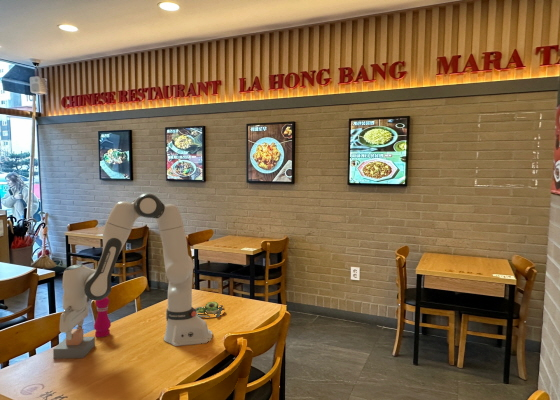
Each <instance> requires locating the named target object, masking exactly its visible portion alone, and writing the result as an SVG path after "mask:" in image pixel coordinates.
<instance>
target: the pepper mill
mask: <svg viewBox="0 0 560 400" xmlns="http://www.w3.org/2000/svg"><path fill="white" fill-rule="evenodd" d="M109 304H110V299H109V297H108V296H107V297H106V298H104V299H102V300H95V306H96V311H97V315H96V319H95V321H94V325H93V329H94V330H95V334H94V337H95V338H105V337H107V336H110V333H111V332H110V331H111V330H110V328H111V326H112V325H111V320H110V318H109V316H108V310H109Z"/></svg>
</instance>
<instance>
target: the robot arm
mask: <svg viewBox="0 0 560 400" xmlns="http://www.w3.org/2000/svg"><path fill="white" fill-rule="evenodd" d="M138 218H147V219H155V220H156V223H157V224H158V230H159V235H160V239H161V244H162V251H163V253H162V254H163V263H164V268H165V269H164V270H165V276H166V279H167V280H168V286H167V287H168V288H167V308H166V312H165V313H166V315H165V317H166V328H165V333H164V337H163V340H164V341H165V342H166V343H168V344H171V345H173V346H174V347H179V346H190V345H191V346H192V345H198V344H199V345H200V344H201V343H202V344H208V343H209V342H210V341H211V340H212V339H211V338H213V336H212V335H213V331H212V330H211V329H209V328H208V324H207V322H206V320H204V318H201V317H199V316H197V315H196V308H197V307H193V305H192V303H193V301H192V300H193V296H192V295H193V293H192V292H193V278H194V276H193V275H194V262H193V261H194V260H193V258H192V257H191V256H190V255H189V250H188V240H187V236H186V231H185V226H184V221H183V219H182V215H181V213H180V210H179V208H178V206H177V205H175V204H173V203H163V202H162V201H161V199H160V198H158V197H157V195H155V194H154V193H149V192H147V193H142V194H140V195H139V196H137V197H136V199H135V200H133V201H132V202H129V201H123V200H122V201H118V202H116V203H115V205H114V206H113V208H112V209H111V211H110V213H109V215H108V217H107V220H106V222H105V224H104V227H103V232H102V236H101V237H102V253H101V257H100V259H99V262H98V264H97V268H96V269H95V268H94V269H93V268H90V267H88V266H86V265H84V264H80V263H79V264H77V263H76V264H74V265H70V266H67V267H66V268H65V269H64V271H63V275H62V289H63V295H62V309H63V312H62V313H61V314H60V316H59V318H60V319H59V332H60V333H61V334H63V333H65V336H66V335H67V340H71V339H72V338H73V334H72V333H71V332H72V329H75V328H76V329H83V326H84V321H85V318H87V317H88V316H89V313H90V301H91V300H92V301H96V300H102V299H104V298H106V297H107V298H108V296H109V295H110V294H111V292H112V276H113V272H114V269H115V266H116V263H117V260H118V257H119V255H120V253H121V251H122V250H123V248H124V246H125V244H126V242H127V240H128V238H129V236H130V234H131V232H132V229H133V227H134V224H135V222H136V221H137V220H138ZM209 340H210V341H209ZM208 341H209V342H208ZM207 342H208V343H207ZM202 344H201V345H202Z"/></svg>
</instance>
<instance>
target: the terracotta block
mask: <svg viewBox="0 0 560 400" xmlns="http://www.w3.org/2000/svg"><path fill="white" fill-rule="evenodd" d="M71 333H72V334H73V338H72V339H71V340H67V335H66V334H65V338H66V345H79V344H80V343H81V342H82V341H83V337H84V328H82V329H77V328H73V329H72V332H71Z"/></svg>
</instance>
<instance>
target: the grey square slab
mask: <svg viewBox="0 0 560 400" xmlns="http://www.w3.org/2000/svg"><path fill="white" fill-rule="evenodd" d="M95 346H96V336H83V341H82V342H81V343H80V344H79V345H66V337H65V338H63V340H62V341H60V342H59V343H58V344H57V345H56V346H55V347H54V348H53V351H52V352H53V353H52V354H53V359H83V358H85V357H86V356H87V355H88V354H89V353H90V351H91V350H92V349H93V348H94V347H95Z"/></svg>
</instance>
